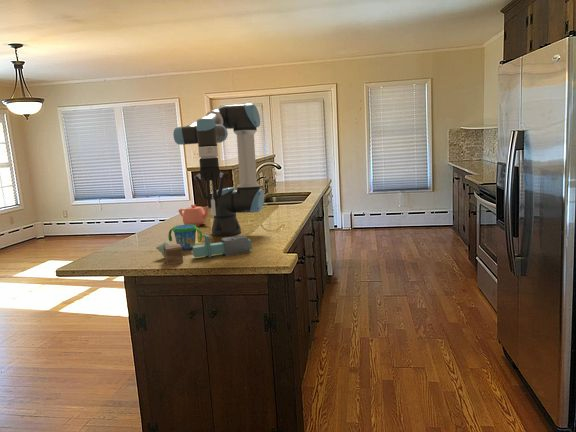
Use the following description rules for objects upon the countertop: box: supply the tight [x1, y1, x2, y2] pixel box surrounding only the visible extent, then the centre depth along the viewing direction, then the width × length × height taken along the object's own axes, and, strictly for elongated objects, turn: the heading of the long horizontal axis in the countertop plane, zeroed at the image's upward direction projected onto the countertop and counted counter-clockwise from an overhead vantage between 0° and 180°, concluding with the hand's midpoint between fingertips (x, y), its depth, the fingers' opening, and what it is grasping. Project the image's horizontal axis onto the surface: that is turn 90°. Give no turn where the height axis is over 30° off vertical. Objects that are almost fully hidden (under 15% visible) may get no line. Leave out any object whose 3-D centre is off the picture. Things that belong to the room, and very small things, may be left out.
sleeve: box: [220, 235, 250, 257], centre depth 194 cm, size 7×10×6 cm, turn 110°
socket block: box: [164, 243, 184, 265], centre depth 186 cm, size 7×6×6 cm
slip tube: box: [192, 233, 253, 259], centre depth 192 cm, size 6×24×9 cm, turn 110°
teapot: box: [178, 204, 210, 228], centre depth 268 cm, size 13×20×12 cm, turn 80°
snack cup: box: [168, 224, 203, 251], centre depth 209 cm, size 16×10×10 cm
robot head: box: [155, 241, 172, 258], centre depth 193 cm, size 8×4×7 cm, turn 83°
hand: (213, 215), depth 189 cm, fingers closed
